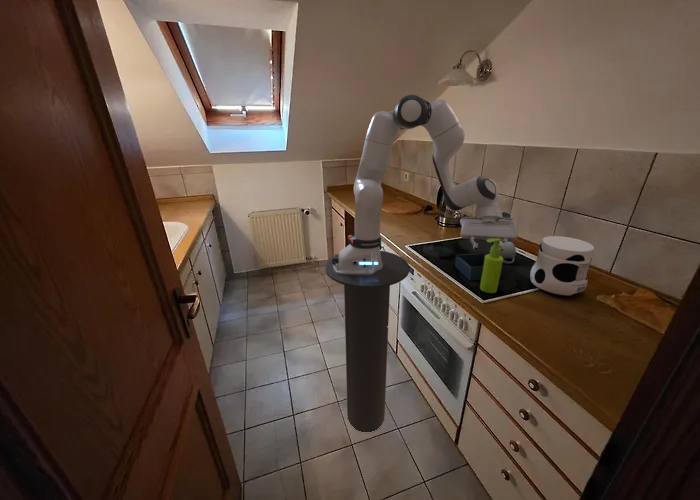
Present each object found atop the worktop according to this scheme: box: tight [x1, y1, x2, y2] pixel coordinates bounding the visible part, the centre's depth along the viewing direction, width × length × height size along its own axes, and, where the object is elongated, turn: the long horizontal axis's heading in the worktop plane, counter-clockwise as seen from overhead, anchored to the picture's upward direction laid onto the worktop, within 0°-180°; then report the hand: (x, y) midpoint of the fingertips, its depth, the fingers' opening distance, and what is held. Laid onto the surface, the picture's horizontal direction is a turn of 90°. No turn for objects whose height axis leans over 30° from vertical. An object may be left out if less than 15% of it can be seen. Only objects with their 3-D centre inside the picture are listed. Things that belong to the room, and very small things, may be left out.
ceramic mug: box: [491, 241, 517, 265], centre depth 134 cm, size 11×8×8 cm
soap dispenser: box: [479, 238, 504, 294], centre depth 107 cm, size 6×7×20 cm
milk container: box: [529, 235, 595, 297], centre depth 107 cm, size 17×17×18 cm
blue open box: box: [454, 252, 503, 281], centre depth 123 cm, size 13×13×6 cm
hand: (488, 249), depth 113 cm, fingers open, 8 cm apart
